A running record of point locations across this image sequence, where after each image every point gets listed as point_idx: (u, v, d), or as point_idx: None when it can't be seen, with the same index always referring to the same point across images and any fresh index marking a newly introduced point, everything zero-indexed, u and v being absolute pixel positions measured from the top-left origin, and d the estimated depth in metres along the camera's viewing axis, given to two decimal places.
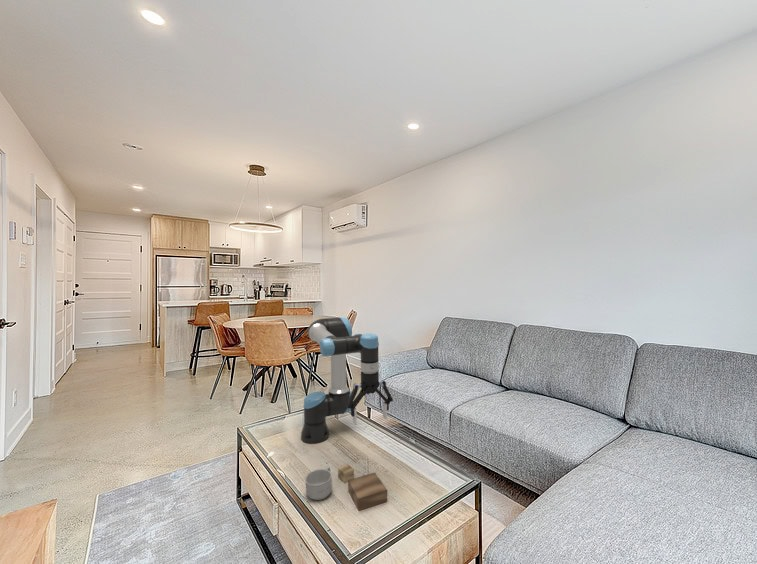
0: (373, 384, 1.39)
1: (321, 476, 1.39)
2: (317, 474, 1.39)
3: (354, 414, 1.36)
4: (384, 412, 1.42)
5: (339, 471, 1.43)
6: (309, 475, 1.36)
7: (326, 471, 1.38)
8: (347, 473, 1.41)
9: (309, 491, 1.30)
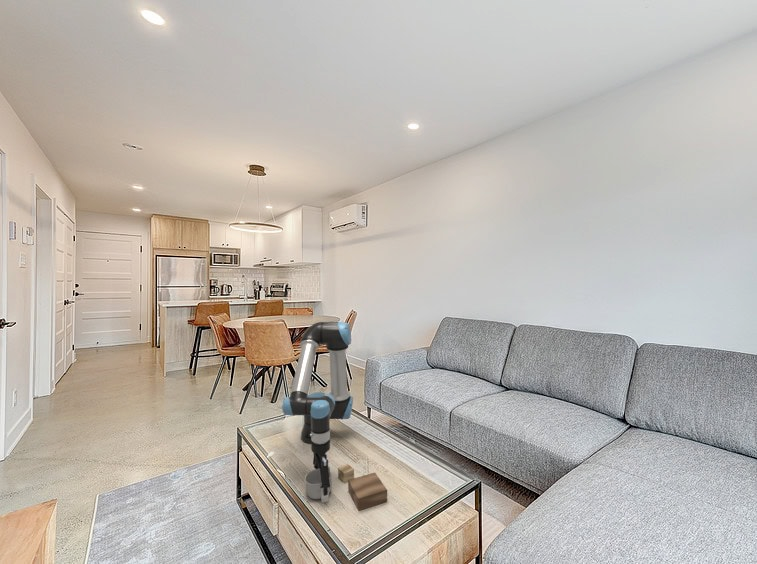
0: (318, 455, 1.33)
1: None
2: (317, 474, 1.39)
3: None
4: None
5: (339, 471, 1.43)
6: (309, 474, 1.37)
7: None
8: (347, 473, 1.41)
9: (309, 490, 1.30)
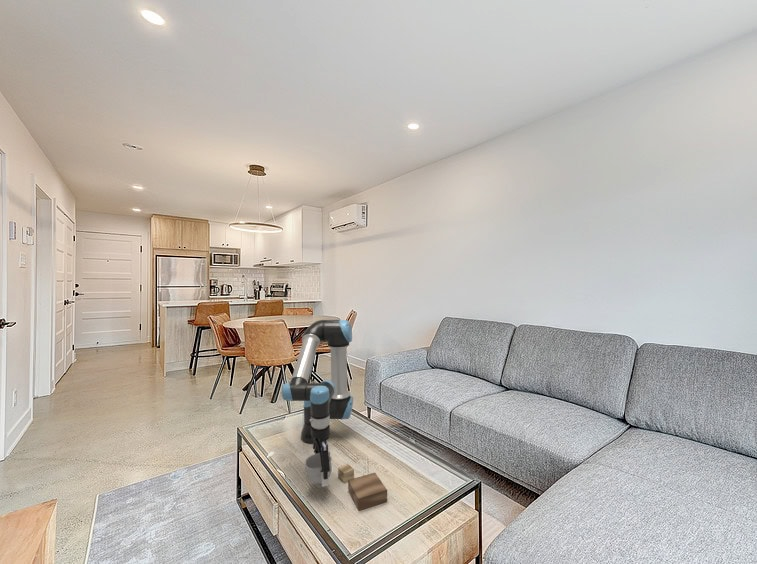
0: (318, 440, 1.33)
1: None
2: (317, 458, 1.40)
3: None
4: None
5: (339, 471, 1.43)
6: (309, 459, 1.37)
7: None
8: (347, 473, 1.41)
9: (309, 475, 1.31)
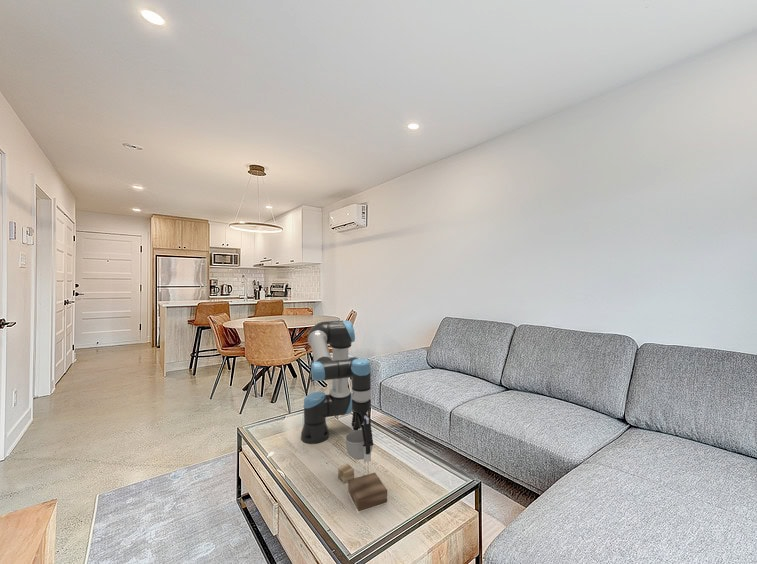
0: (359, 414, 1.29)
1: (360, 437, 1.35)
2: (356, 435, 1.35)
3: None
4: None
5: (339, 471, 1.43)
6: (348, 435, 1.33)
7: None
8: (347, 473, 1.41)
9: (350, 449, 1.26)
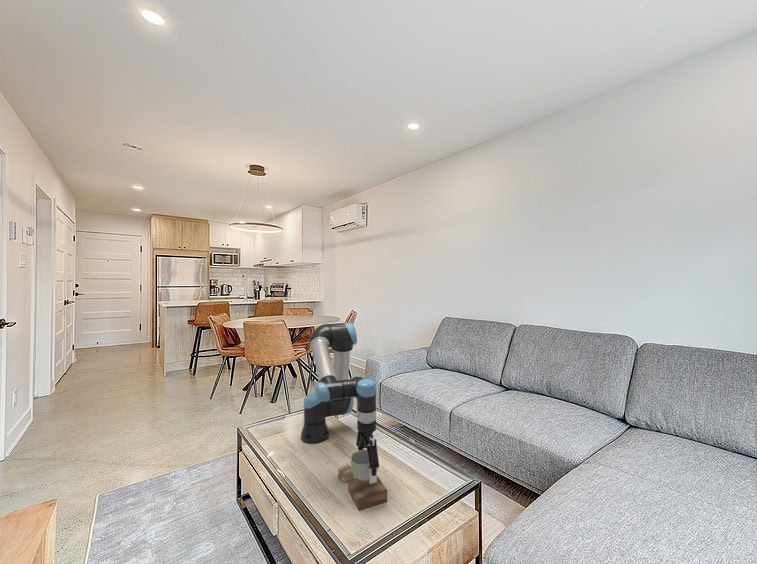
0: (365, 435, 1.29)
1: (365, 457, 1.35)
2: (361, 455, 1.35)
3: None
4: None
5: (339, 471, 1.43)
6: (354, 455, 1.33)
7: None
8: (347, 473, 1.41)
9: (356, 471, 1.26)
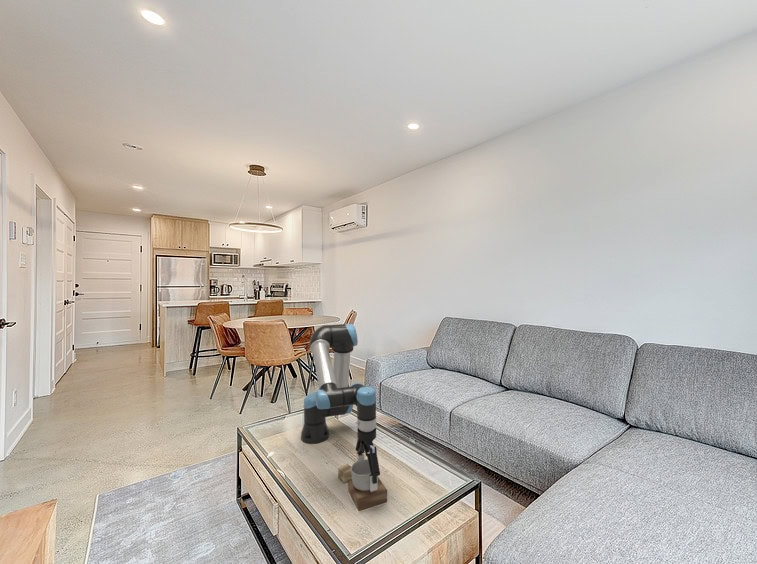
0: (365, 443, 1.29)
1: (365, 467, 1.36)
2: (362, 465, 1.35)
3: None
4: None
5: (339, 471, 1.43)
6: (354, 466, 1.33)
7: None
8: (347, 473, 1.41)
9: (356, 481, 1.26)
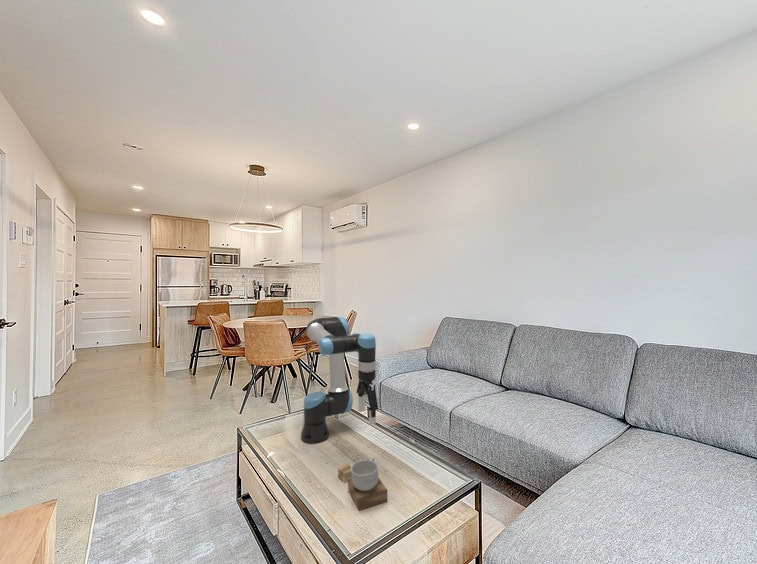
0: (365, 383, 1.44)
1: (365, 467, 1.36)
2: (362, 465, 1.35)
3: None
4: None
5: (339, 471, 1.43)
6: (354, 466, 1.33)
7: (371, 462, 1.35)
8: (347, 473, 1.41)
9: (356, 481, 1.26)
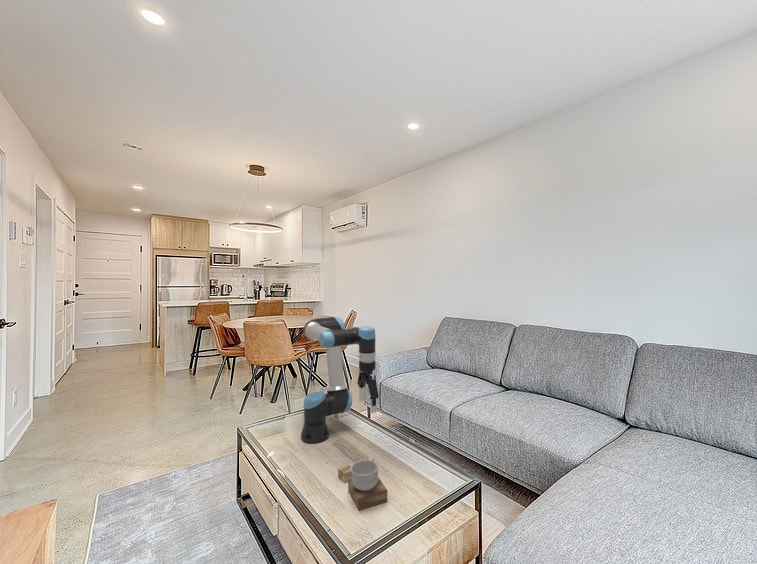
0: (366, 373, 1.49)
1: (365, 467, 1.36)
2: (362, 465, 1.35)
3: None
4: None
5: (339, 471, 1.43)
6: (354, 466, 1.33)
7: (371, 462, 1.35)
8: (347, 473, 1.41)
9: (356, 481, 1.26)
